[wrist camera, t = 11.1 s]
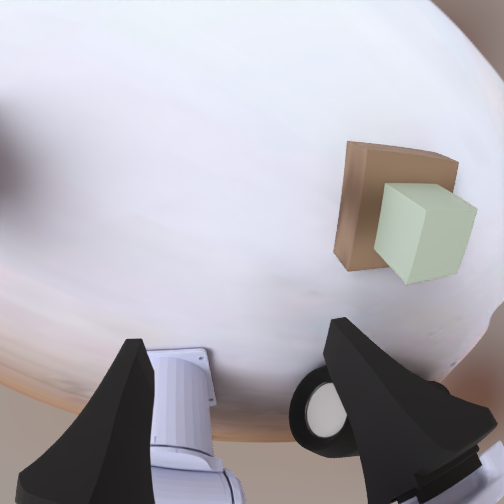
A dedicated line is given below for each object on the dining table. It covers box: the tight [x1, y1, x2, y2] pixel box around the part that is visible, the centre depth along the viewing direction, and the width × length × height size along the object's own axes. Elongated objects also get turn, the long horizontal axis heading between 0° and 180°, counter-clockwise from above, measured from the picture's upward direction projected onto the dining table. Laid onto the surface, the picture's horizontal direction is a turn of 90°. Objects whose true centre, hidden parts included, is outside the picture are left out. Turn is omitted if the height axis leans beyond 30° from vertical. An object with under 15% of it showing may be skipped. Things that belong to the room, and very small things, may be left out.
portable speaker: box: [289, 367, 450, 458], centre depth 28 cm, size 26×10×10 cm, turn 58°
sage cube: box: [374, 183, 477, 285], centre depth 15 cm, size 4×4×4 cm
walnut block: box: [333, 141, 459, 271], centre depth 18 cm, size 8×8×3 cm
